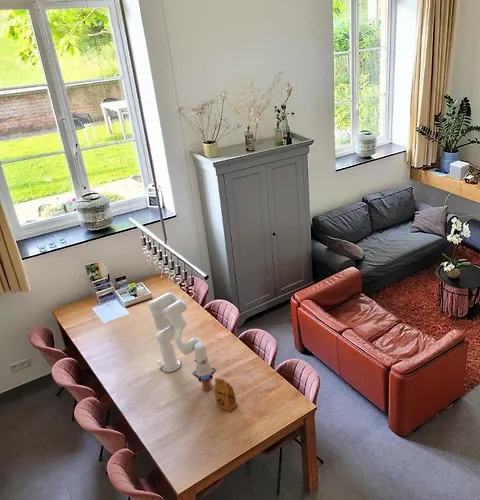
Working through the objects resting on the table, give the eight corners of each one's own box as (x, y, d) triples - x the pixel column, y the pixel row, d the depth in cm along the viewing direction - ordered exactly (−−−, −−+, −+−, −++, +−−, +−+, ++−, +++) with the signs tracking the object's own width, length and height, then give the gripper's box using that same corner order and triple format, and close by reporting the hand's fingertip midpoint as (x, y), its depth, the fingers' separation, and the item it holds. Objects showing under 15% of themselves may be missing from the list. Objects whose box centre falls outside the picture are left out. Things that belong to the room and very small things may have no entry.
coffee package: (228, 414, 337) (224, 388, 327) (214, 407, 343) (210, 381, 333) (239, 404, 345) (235, 379, 334) (225, 397, 351) (221, 372, 340)
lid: (210, 380, 353) (210, 378, 352) (200, 382, 352) (200, 380, 351) (210, 374, 359) (210, 372, 358) (200, 376, 357) (200, 374, 356)
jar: (202, 391, 356) (200, 380, 352) (203, 384, 362) (201, 374, 357) (211, 390, 357) (209, 380, 352) (212, 384, 362) (210, 374, 357)
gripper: (188, 365, 342) (192, 386, 351) (215, 360, 346) (219, 381, 355) (188, 358, 349) (192, 379, 357) (215, 353, 353) (218, 374, 361)
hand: (205, 380), depth 356 cm, fingers closed on lid, 6 cm apart
